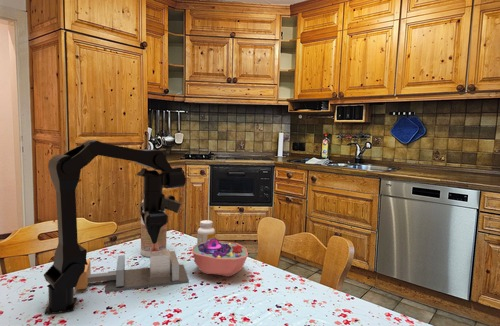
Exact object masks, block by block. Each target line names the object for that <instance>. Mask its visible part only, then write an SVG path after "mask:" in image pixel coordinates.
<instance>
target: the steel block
mask: <svg viewBox="0 0 500 326" xmlns="http://www.w3.org/2000/svg"><path fill="white" fill-rule="evenodd" d="M170 251H171V250H168V249H167V250H166V251H156V252H150V257H149V268H150V278H157V277H166V276H170Z"/></svg>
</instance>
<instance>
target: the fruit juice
mask: <svg viewBox="0 0 500 326" xmlns="http://www.w3.org/2000/svg"><path fill="white" fill-rule="evenodd" d="M142 202H143V199H142V200H141V203H142ZM164 212H165V213H166V210H165V211H164ZM167 224H168V222H167V223H166V224H165V225H163V226H162V227H161V229H160V232H159V236H158V239H157V243H156V244H153V243H152V241H151V238H150V235H149V234H148V232H147V229H146V227H145V224H144V222H143V219H142V216H141V215H140V254H141V256H143V257H145V258H150V252H156V251H167V235H168V234H167Z"/></svg>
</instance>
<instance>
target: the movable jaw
mask: <svg viewBox="0 0 500 326" xmlns="http://www.w3.org/2000/svg"><path fill="white" fill-rule="evenodd" d="M125 257H126V256H125V255H117V260H116V269H115V271H116V272H109V271H107V272H100V273H99V272H98V273H97V272H96V273H91V271H92V270H91V268H92V266H91V259H90V258H89V259H88V258H86V261H87V263H88V265H85V271H84V273H82V274H81V276H80V277H79V280H78V283H77V286H76V287H74V290H75V291H76V290H85V289H87V288H88V287H87V286H88V284H89V283H100V282H106V281H109V280H116V287H118V286H124V272H125V270H126V269H125V265H126V264H125Z"/></svg>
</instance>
